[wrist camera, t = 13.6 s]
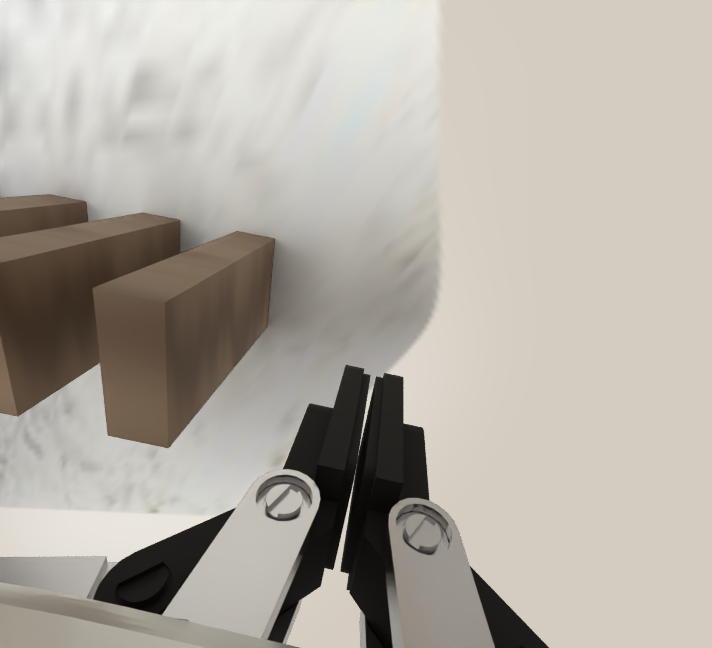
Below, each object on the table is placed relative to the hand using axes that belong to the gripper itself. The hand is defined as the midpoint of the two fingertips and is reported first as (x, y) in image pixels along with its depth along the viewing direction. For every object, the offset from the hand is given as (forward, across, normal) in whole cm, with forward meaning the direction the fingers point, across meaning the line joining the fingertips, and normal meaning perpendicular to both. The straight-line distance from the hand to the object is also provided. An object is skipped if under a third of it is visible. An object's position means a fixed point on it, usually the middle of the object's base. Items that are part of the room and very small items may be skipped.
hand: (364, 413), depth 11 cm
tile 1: (+10, +7, 0) cm, 12 cm away
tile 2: (+10, +12, 0) cm, 15 cm away
